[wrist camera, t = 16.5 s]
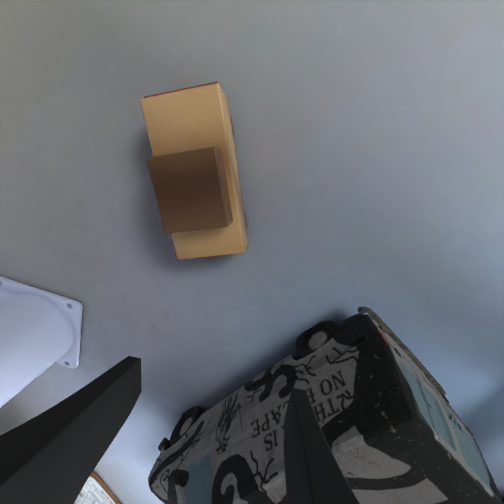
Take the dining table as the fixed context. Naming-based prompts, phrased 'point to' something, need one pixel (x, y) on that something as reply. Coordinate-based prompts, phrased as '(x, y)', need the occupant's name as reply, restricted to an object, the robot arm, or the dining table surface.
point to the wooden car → (196, 171)
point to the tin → (96, 492)
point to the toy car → (331, 428)
